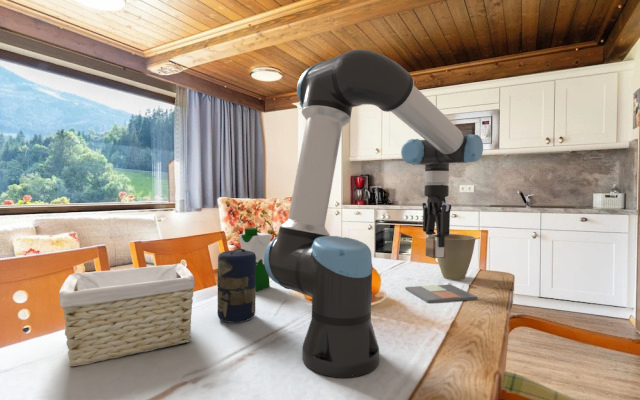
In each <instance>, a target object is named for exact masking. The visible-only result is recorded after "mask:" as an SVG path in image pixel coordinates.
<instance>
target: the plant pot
mask: <svg viewBox="0 0 640 400" xmlns="http://www.w3.org/2000/svg"><path fill="white" fill-rule="evenodd" d="M445 239H446V250H445V258H436V259H437V262H438V266H439V269H440V271H441V274H442V277H443V278H444V279H446V280H449V281H463V280H464V279H465V278H466V275H467V273H468V270H469V268H470V264H471V261H472V258H473V254H474V250H475V249H474V248H475V244H476V237H475V236H473V235H468V234H457V233H456V234H455V233H449V236H446V237H445Z"/></svg>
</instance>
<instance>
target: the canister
mask: <svg viewBox="0 0 640 400" xmlns="http://www.w3.org/2000/svg"><path fill="white" fill-rule="evenodd" d="M256 295H257V291H256V255H255V253H254V252H251V251H246V250H244V249H241V247H238V248H235V249H232V250H225V251H222V252H220V253H219V254H218V257H217V317H218V318H219V320H220V321H223V322H226V323H240V322H246V321H249V320H251V319H252V318H254V316H255V315H256V300H257V299H256Z"/></svg>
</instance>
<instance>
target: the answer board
mask: <svg viewBox="0 0 640 400" xmlns="http://www.w3.org/2000/svg"><path fill="white" fill-rule="evenodd" d="M405 290H406V291H407V292H409V293H411V294H412V295H414V296H416V297H417V298H418V299H420V300H422V301H424V302H425V303H427V304H431V303H442V302H443V303H444V302H458V301H460V302H461V301H474V300H478V296H477V295H475V294H472V293H471V292H468V291H466V290H463V288H459V287H457V286H455V285H453V284H438V285H437V284H434V285H419V286H417V285H416V286H405Z"/></svg>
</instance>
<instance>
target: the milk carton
mask: <svg viewBox="0 0 640 400" xmlns="http://www.w3.org/2000/svg"><path fill="white" fill-rule="evenodd" d="M238 238H239V243H240V248H241V249H244V250H246V251H251V252H254V253H255V255H256V292H258V291H262V290H264V289H268V288H270V286H271V285H270V277H269V275H268V274H267V272H266V269H265V265H264V255H265V251H266V248H267V246H268V244H269V243H270V242H271V238H272V234H271V233H266V232H263V233H262V232H258V228H257V227H246V228H244V233H242V234H238Z"/></svg>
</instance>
